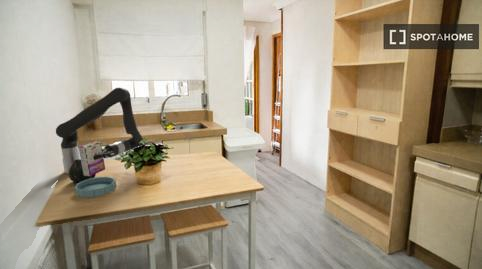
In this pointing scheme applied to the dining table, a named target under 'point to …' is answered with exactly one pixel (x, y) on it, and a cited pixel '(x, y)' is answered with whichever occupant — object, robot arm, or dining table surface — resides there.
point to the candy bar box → (91, 158)
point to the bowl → (95, 187)
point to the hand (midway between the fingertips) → (90, 157)
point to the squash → (78, 172)
